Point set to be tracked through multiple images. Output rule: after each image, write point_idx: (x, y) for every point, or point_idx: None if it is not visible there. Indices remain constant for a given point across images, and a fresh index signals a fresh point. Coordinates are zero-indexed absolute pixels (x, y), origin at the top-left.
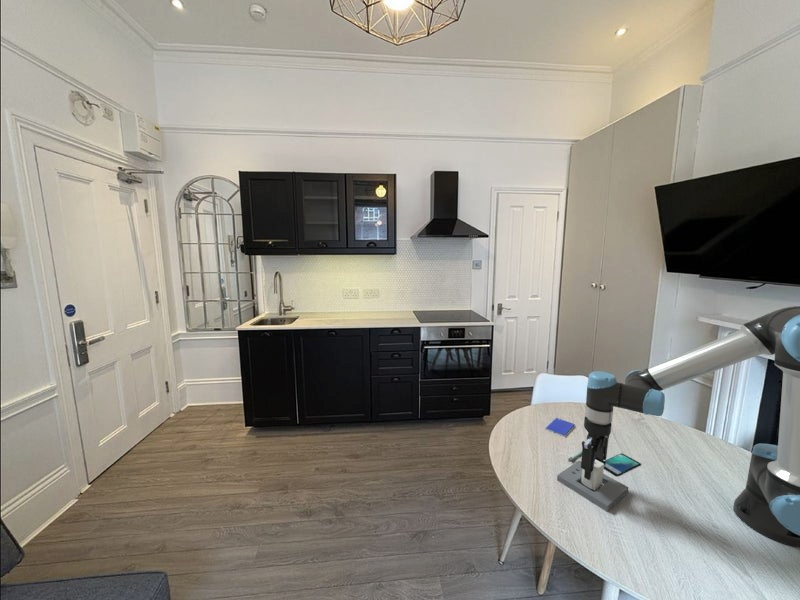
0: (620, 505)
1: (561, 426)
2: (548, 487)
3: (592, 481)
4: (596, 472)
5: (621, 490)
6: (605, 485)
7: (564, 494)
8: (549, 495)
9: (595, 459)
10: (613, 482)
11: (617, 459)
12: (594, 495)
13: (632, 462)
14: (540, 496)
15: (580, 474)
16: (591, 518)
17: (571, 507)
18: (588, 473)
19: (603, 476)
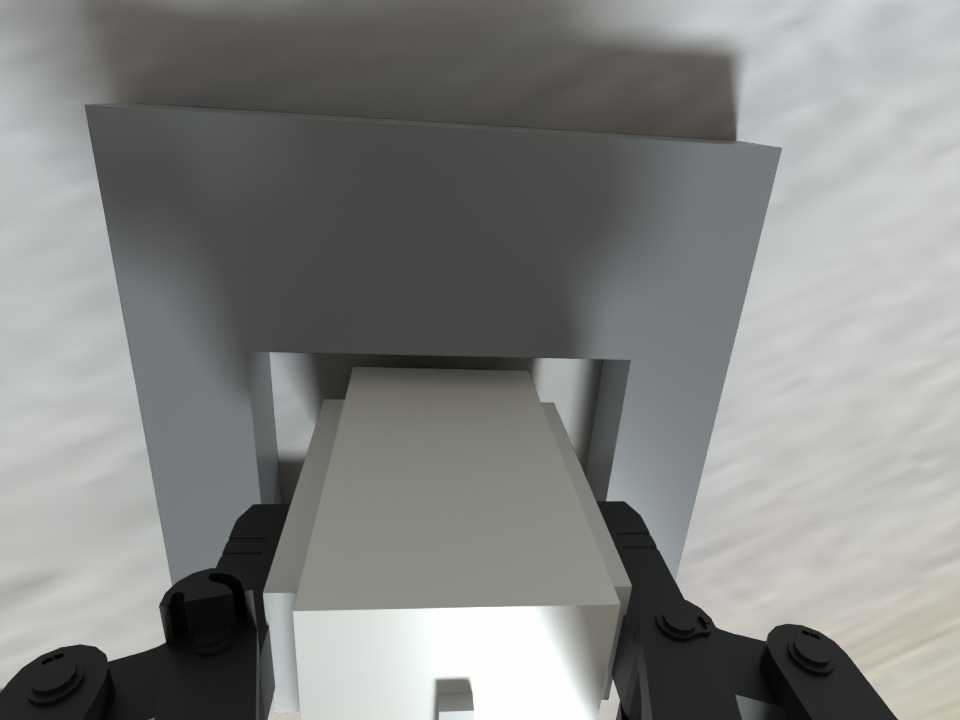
0: (489, 73)
1: None
2: (783, 615)
3: (572, 462)
4: (592, 545)
5: (275, 149)
6: (376, 334)
7: (777, 508)
8: (881, 565)
9: None
10: (203, 295)
11: None
12: (694, 334)
13: None
14: (941, 593)
15: None
16: (955, 209)
17: (916, 395)
18: (669, 589)
19: (209, 425)
